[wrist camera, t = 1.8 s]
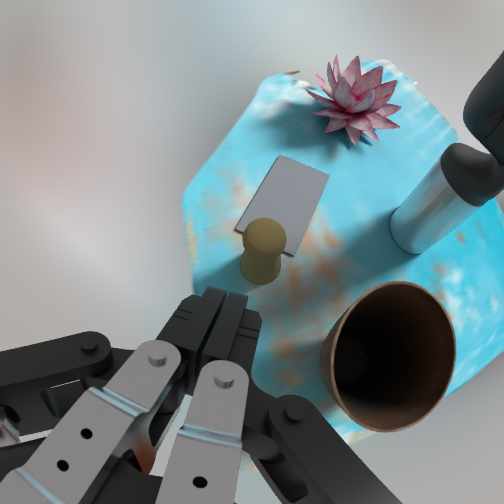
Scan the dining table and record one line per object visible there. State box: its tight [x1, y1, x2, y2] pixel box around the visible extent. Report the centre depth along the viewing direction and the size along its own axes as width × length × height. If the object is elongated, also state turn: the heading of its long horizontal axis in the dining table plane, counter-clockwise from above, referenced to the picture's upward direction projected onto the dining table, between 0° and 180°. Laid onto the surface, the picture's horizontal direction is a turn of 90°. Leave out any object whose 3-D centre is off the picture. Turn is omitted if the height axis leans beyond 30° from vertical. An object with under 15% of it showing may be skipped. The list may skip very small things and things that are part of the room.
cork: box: [240, 218, 287, 284], centre depth 36 cm, size 6×6×11 cm
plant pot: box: [320, 281, 456, 432], centre depth 28 cm, size 15×15×16 cm
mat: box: [236, 155, 330, 256], centre depth 45 cm, size 18×10×1 cm, turn 154°
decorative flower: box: [304, 55, 401, 145], centre depth 47 cm, size 21×21×15 cm
